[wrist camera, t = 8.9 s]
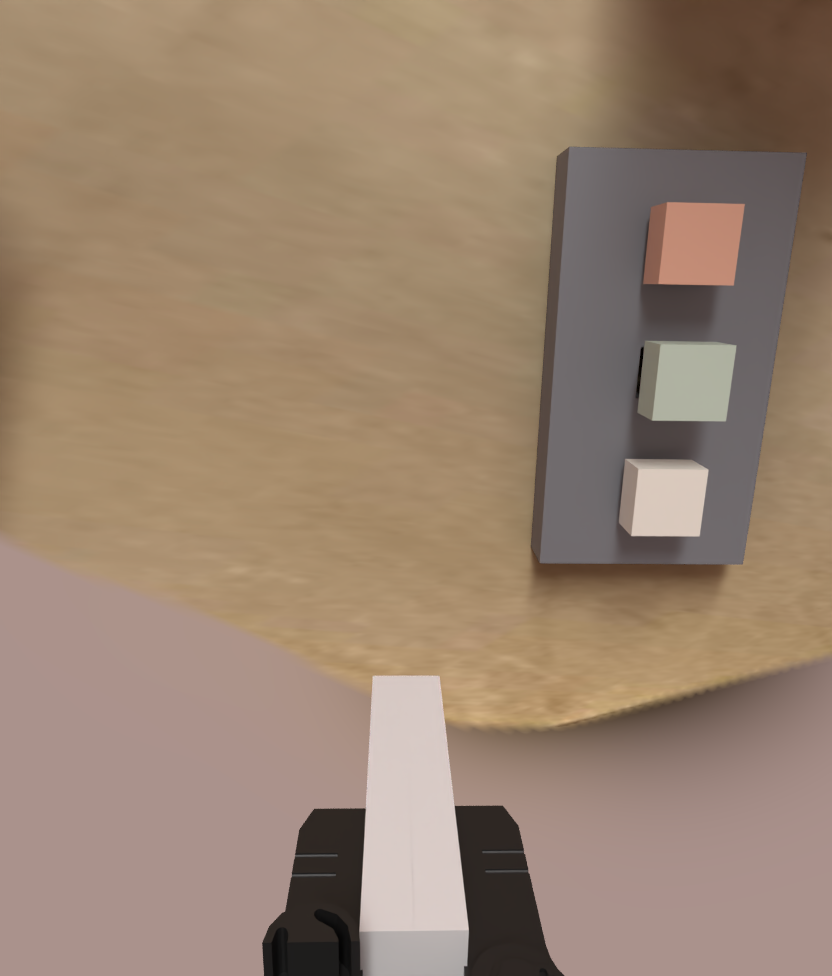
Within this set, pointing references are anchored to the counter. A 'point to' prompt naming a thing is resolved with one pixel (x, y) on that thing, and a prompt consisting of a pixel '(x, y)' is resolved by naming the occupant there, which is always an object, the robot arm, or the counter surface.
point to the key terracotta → (693, 243)
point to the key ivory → (662, 497)
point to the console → (653, 317)
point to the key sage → (686, 380)
